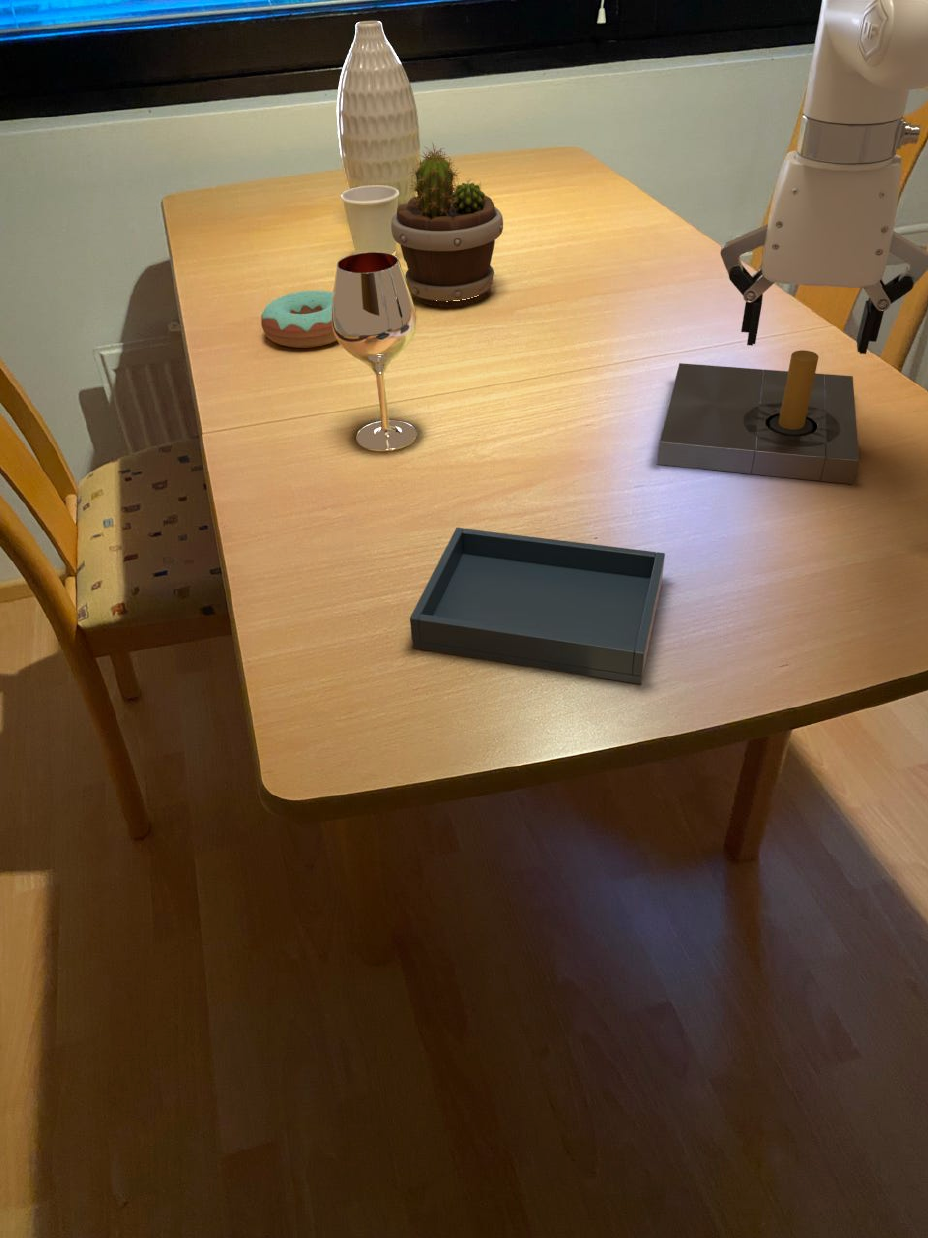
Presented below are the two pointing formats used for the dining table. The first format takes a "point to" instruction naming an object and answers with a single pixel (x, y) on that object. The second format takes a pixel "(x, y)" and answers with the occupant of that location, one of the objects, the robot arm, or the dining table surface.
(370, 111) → the vase
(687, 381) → the drain plate
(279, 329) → the donut
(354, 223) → the dixie cup
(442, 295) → the flowerpot
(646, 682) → the dining table surface
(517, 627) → the basin tray
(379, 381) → the wineglass
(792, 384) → the plug
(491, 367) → the dining table surface
